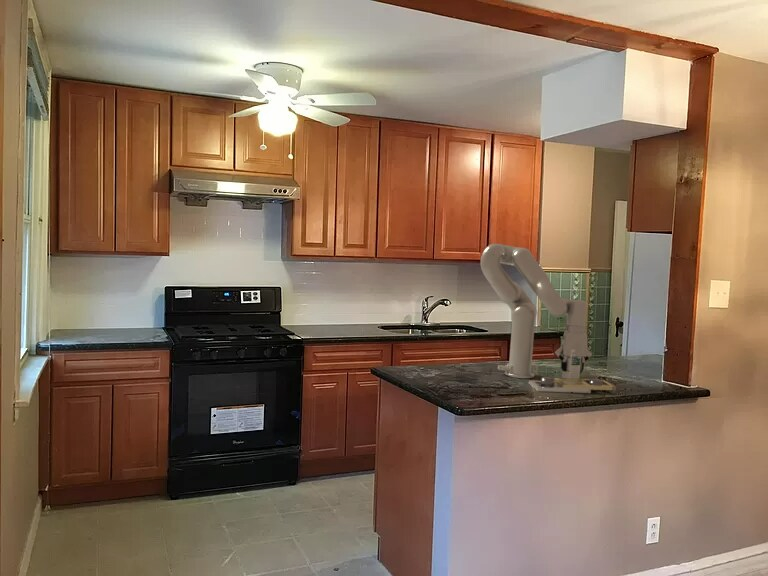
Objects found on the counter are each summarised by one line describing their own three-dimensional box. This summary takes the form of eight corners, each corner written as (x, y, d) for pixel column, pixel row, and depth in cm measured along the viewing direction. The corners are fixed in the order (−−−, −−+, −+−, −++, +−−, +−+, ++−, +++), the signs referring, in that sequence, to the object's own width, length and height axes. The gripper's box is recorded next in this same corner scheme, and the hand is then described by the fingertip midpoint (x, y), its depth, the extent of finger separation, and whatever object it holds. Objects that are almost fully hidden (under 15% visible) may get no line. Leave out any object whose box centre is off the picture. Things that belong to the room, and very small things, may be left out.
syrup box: (569, 383, 258) (572, 349, 257) (561, 380, 264) (564, 346, 262) (581, 383, 260) (583, 349, 258) (572, 379, 265) (575, 346, 264)
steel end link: (537, 391, 241) (538, 381, 241) (528, 384, 253) (529, 374, 252) (590, 393, 243) (591, 383, 243) (579, 385, 254) (580, 376, 254)
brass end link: (562, 392, 242) (563, 382, 242) (552, 384, 254) (553, 375, 253) (615, 394, 244) (616, 384, 244) (602, 386, 255) (603, 377, 255)
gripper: (558, 329, 255) (555, 372, 257) (599, 331, 257) (595, 373, 258) (552, 327, 263) (549, 368, 264) (591, 328, 264) (588, 369, 266)
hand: (572, 370), depth 261 cm, fingers closed on syrup box, 6 cm apart
